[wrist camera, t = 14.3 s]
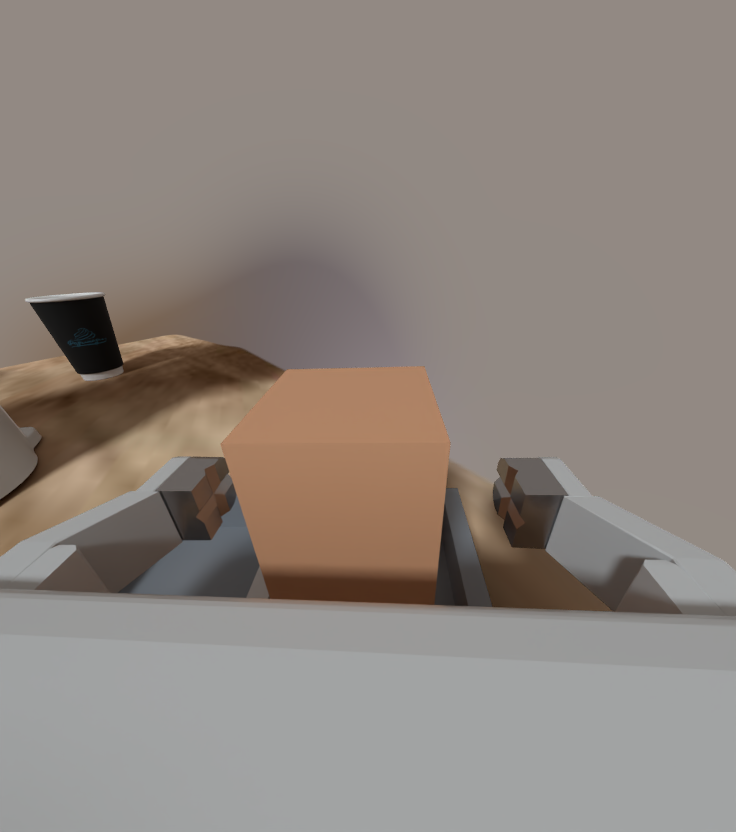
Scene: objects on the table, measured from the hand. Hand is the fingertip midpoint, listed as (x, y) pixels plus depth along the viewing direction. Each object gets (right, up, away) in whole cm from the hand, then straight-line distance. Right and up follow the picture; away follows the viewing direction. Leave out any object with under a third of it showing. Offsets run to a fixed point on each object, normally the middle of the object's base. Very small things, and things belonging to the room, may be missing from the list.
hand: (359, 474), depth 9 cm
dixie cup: (-39, +8, +36) cm, 53 cm away
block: (0, -7, +3) cm, 7 cm away
